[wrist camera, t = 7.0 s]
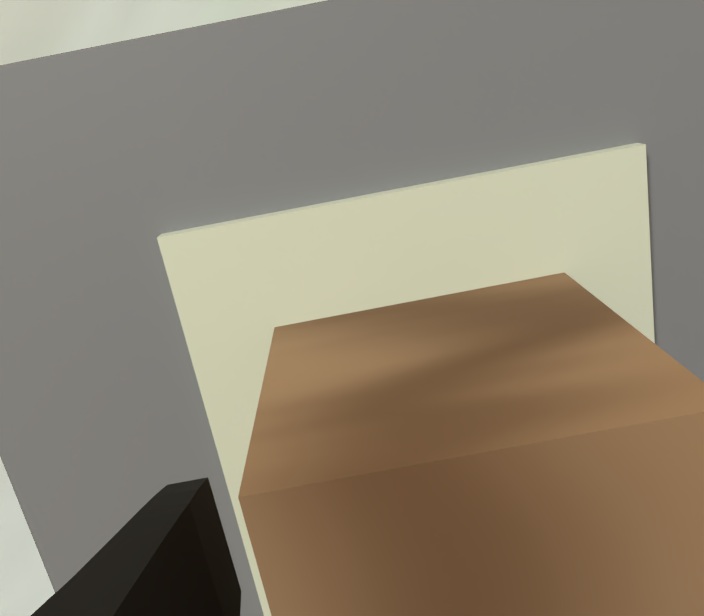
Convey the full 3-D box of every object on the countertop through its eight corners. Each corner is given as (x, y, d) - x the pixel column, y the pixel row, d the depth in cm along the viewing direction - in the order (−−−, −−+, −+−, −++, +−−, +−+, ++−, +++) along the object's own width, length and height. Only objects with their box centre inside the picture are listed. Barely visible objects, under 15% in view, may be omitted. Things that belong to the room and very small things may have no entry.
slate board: (786, -75, 12) (911, -119, 10) (774, 549, 17) (858, 636, 14) (-58, 92, 13) (-159, 95, 10) (147, 660, 17) (115, 765, 15)
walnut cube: (564, 272, 11) (733, 406, 7) (586, 518, 13) (736, 768, 8) (274, 327, 12) (237, 497, 7) (331, 564, 13) (334, 838, 8)
